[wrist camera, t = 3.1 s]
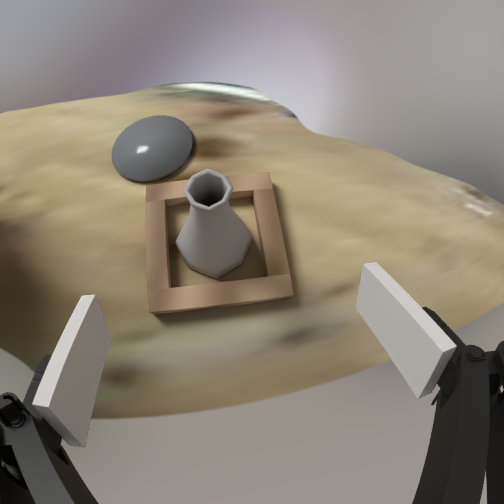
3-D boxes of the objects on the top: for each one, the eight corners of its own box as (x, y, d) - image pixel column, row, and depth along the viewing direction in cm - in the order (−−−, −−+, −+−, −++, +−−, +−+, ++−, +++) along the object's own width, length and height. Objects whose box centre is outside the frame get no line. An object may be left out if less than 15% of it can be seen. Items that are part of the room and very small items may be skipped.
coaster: (98, 168, 30) (96, 166, 30) (141, 112, 34) (140, 109, 33) (166, 193, 30) (165, 190, 29) (207, 129, 33) (207, 126, 33)
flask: (265, 238, 29) (283, 185, 20) (217, 293, 27) (211, 261, 18) (211, 196, 30) (206, 133, 21) (162, 245, 28) (135, 194, 19)
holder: (153, 314, 26) (149, 312, 24) (149, 192, 30) (146, 185, 28) (290, 297, 27) (293, 294, 26) (267, 180, 31) (269, 172, 30)
